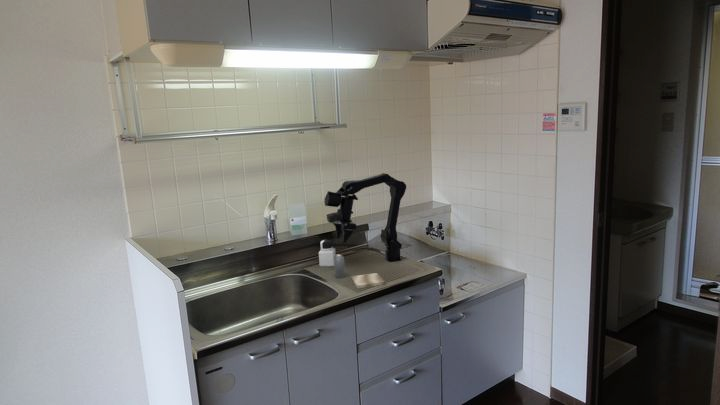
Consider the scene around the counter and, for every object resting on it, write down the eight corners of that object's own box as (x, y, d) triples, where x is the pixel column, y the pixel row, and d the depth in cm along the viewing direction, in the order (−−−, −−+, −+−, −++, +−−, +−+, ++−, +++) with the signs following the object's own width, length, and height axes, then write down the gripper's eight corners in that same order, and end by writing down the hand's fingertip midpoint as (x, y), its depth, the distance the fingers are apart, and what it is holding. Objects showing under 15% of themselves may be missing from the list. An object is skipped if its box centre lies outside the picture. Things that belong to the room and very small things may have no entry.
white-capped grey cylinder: (341, 274, 215) (339, 252, 213) (347, 276, 211) (345, 254, 209) (333, 276, 212) (331, 255, 210) (339, 279, 209) (337, 257, 207)
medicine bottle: (336, 261, 233) (334, 238, 231) (333, 266, 227) (332, 242, 224) (322, 261, 234) (320, 238, 232) (319, 266, 227) (317, 242, 225)
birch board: (377, 275, 211) (376, 272, 210) (384, 284, 199) (384, 281, 199) (351, 279, 208) (351, 276, 208) (357, 288, 196) (357, 285, 196)
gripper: (323, 203, 224) (318, 234, 225) (336, 209, 206) (331, 244, 208) (345, 205, 228) (340, 236, 230) (359, 212, 211) (354, 245, 212)
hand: (340, 240), depth 220 cm, fingers open, 9 cm apart
